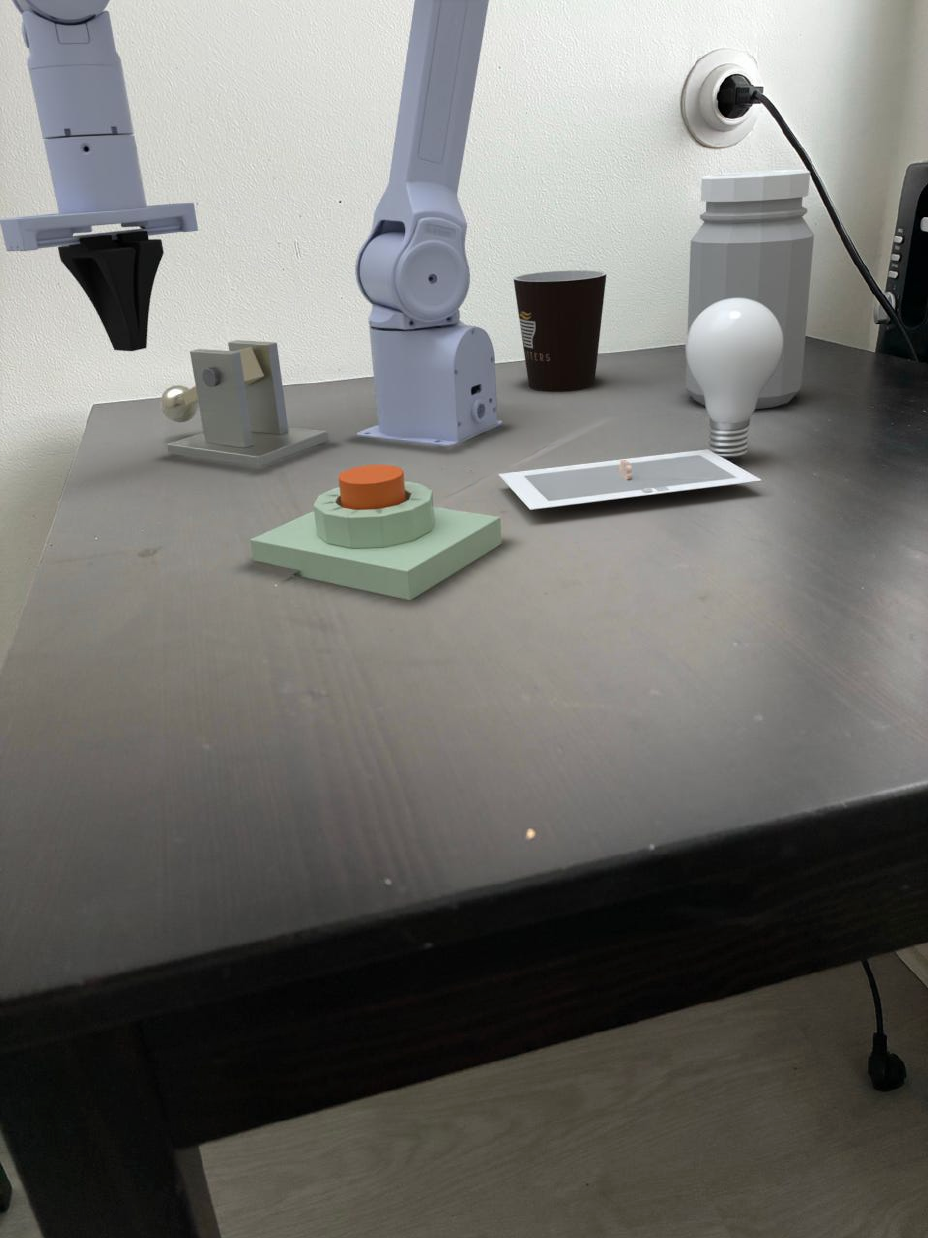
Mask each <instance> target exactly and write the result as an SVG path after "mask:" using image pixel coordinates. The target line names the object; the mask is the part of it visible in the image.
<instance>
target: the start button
mask: <svg viewBox="0 0 928 1238" xmlns="http://www.w3.org/2000/svg"><path fill="white" fill-rule="evenodd" d="M404 481H405V473H404V470H403V469H402V468H401V467H399V466H396V465H390V464H366V465H361V466H360V465H359V466H354V467H352V468H348V469H345V470H343V471H342V472H341V473H339V475H338V485H339V486H338V487H340V495H341V504H342V508H347V509H353V510H371V509H381V508H386V507H391V506H396V505H399V504H401V503H403V502H405V501H406V495H405V483H404Z"/></svg>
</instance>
